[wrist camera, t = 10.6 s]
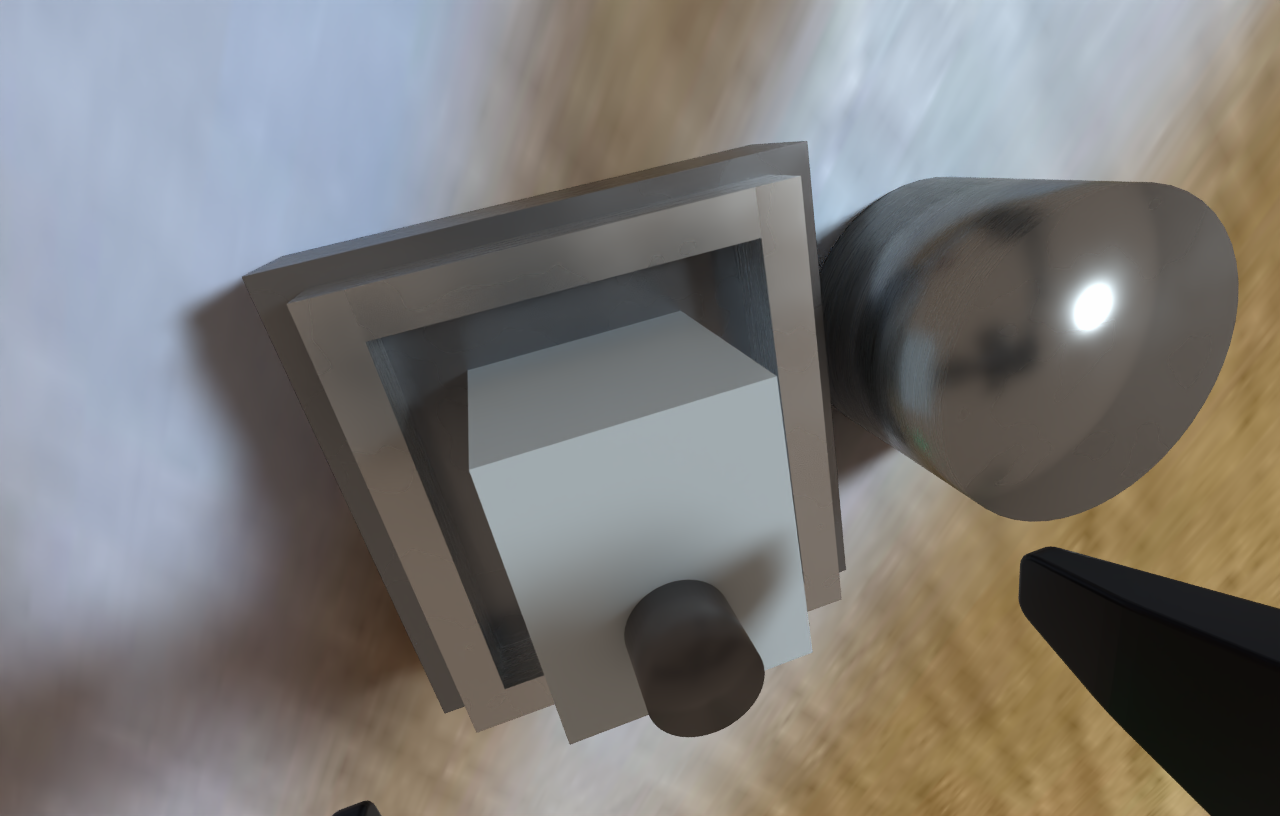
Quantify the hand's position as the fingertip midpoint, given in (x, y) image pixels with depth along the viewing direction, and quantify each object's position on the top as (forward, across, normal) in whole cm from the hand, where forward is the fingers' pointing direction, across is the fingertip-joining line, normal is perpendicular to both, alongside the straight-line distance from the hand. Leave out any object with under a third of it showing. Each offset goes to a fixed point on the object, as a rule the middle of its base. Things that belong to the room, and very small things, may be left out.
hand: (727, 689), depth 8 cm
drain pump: (+8, 0, 0) cm, 8 cm away
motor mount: (+11, -4, 0) cm, 12 cm away
